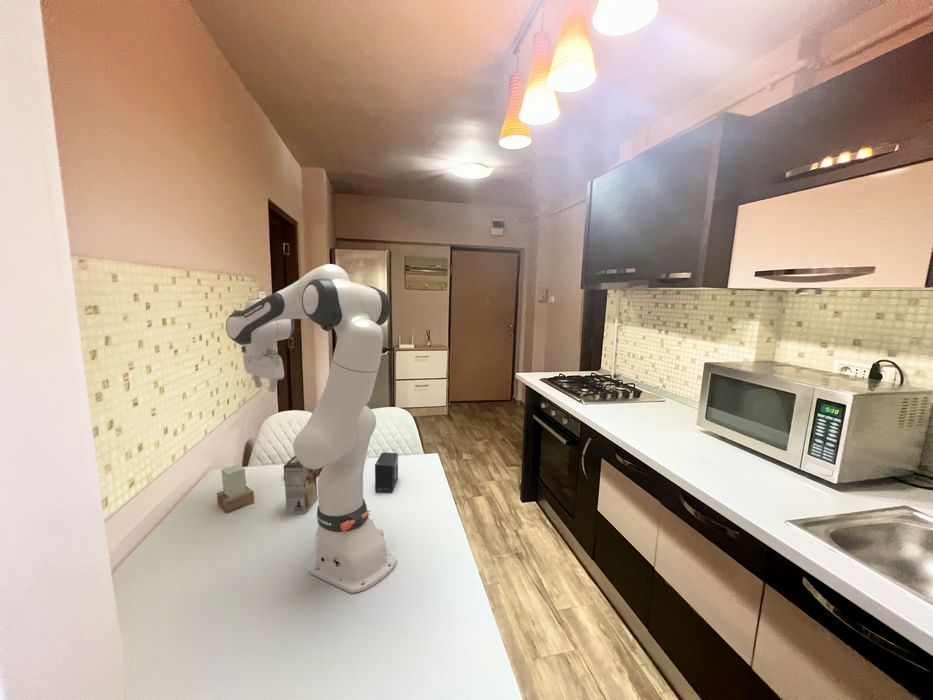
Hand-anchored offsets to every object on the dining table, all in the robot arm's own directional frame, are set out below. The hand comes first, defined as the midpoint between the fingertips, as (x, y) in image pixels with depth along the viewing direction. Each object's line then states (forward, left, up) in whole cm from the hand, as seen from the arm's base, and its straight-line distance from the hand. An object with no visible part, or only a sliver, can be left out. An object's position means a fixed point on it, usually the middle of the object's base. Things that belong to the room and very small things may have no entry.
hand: (265, 389), depth 127 cm
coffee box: (-17, -2, -37) cm, 40 cm away
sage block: (+1, +11, -32) cm, 34 cm away
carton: (+2, -15, -37) cm, 40 cm away
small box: (-28, -28, -37) cm, 54 cm away
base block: (+1, +11, -36) cm, 38 cm away
